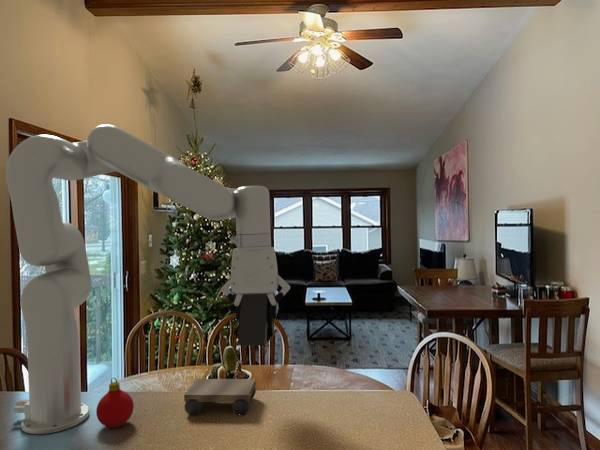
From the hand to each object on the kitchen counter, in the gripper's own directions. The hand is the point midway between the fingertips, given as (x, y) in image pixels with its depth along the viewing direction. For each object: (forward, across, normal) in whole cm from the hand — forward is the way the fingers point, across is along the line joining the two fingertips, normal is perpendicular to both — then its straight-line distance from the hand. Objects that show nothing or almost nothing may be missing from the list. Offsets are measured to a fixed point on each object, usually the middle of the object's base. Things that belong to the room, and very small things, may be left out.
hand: (256, 321), depth 97 cm
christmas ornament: (+19, -28, -9) cm, 35 cm away
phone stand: (+4, 0, 0) cm, 4 cm away
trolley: (+19, -8, 0) cm, 21 cm away
